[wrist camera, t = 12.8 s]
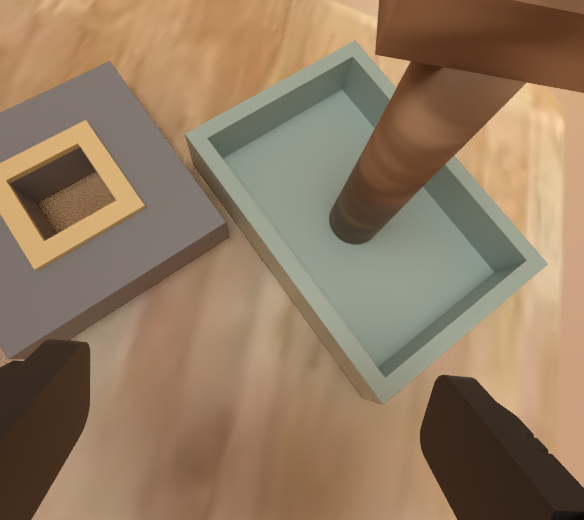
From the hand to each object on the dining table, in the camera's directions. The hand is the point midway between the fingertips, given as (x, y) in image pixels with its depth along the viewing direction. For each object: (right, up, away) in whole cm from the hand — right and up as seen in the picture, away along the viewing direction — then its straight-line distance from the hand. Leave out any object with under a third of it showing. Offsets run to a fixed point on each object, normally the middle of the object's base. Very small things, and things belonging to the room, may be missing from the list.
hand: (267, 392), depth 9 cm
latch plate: (-14, +6, +17) cm, 23 cm away
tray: (+5, +6, +19) cm, 21 cm away
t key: (+5, +6, +19) cm, 20 cm away
